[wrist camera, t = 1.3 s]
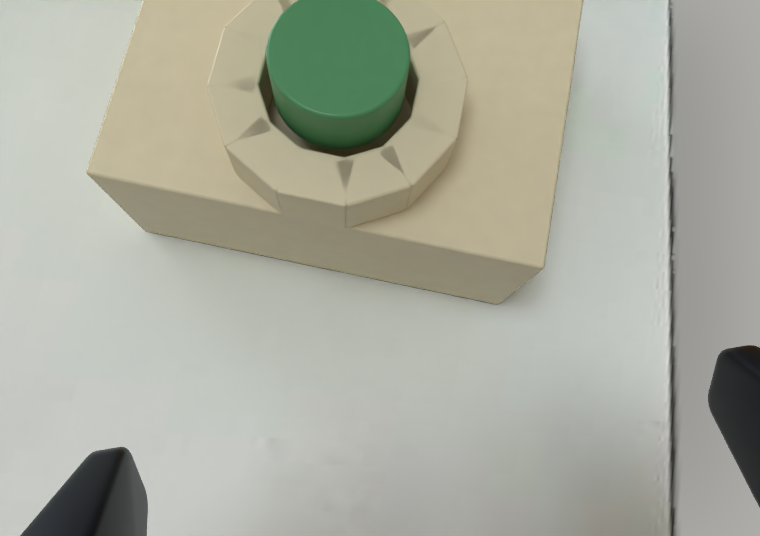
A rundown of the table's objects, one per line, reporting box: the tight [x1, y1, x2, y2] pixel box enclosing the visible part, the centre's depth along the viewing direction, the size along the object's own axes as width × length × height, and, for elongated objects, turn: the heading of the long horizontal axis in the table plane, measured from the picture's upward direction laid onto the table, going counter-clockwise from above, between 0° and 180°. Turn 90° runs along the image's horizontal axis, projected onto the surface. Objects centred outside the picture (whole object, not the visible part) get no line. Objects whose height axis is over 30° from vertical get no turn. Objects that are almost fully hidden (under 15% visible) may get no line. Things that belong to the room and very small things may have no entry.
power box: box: [87, 0, 583, 304], centre depth 20 cm, size 10×12×7 cm
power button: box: [266, 0, 410, 149], centre depth 16 cm, size 3×3×2 cm
